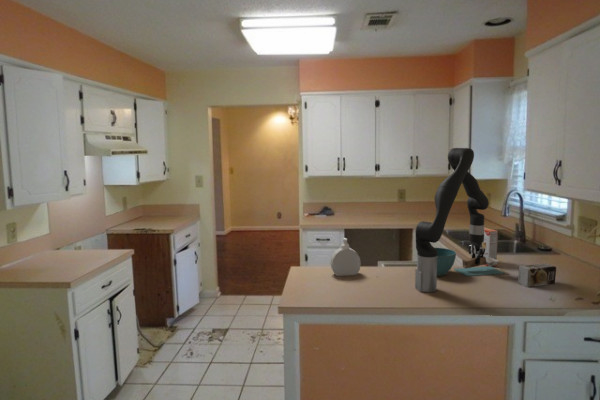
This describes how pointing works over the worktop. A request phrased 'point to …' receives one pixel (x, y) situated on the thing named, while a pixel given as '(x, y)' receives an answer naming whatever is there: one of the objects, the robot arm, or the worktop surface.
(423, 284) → the robot arm
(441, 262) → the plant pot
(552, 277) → the coffee box
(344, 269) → the soap bottle
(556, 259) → the worktop surface
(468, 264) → the tall cardboard-brown block
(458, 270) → the mat
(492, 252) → the cracker box
